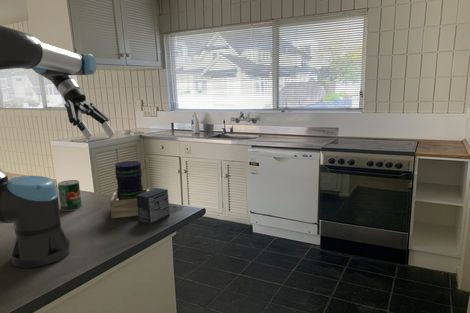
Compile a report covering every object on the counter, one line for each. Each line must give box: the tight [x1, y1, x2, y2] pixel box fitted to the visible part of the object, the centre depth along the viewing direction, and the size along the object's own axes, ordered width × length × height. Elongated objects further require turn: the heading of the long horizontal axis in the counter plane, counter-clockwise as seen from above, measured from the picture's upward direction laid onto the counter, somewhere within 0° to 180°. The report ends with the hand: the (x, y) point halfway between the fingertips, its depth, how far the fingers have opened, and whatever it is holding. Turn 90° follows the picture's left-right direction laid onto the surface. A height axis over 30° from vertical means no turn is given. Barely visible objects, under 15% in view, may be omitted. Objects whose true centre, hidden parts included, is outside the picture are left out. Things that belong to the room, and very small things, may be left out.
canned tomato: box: [57, 179, 83, 212], centre depth 143 cm, size 8×8×11 cm
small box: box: [136, 187, 171, 226], centre depth 129 cm, size 11×6×10 cm, turn 149°
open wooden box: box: [109, 188, 150, 219], centre depth 139 cm, size 14×14×6 cm
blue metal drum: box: [114, 160, 144, 200], centre depth 137 cm, size 10×10×15 cm
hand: (101, 136), depth 135 cm, fingers open, 13 cm apart
